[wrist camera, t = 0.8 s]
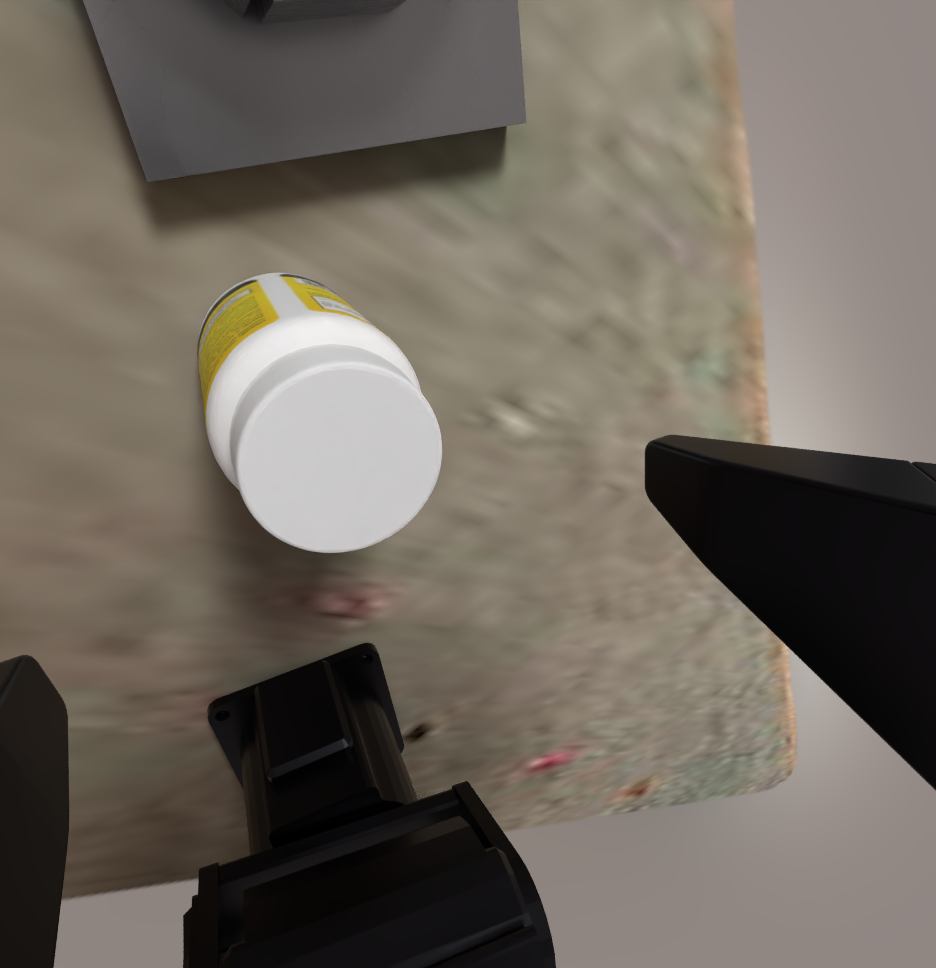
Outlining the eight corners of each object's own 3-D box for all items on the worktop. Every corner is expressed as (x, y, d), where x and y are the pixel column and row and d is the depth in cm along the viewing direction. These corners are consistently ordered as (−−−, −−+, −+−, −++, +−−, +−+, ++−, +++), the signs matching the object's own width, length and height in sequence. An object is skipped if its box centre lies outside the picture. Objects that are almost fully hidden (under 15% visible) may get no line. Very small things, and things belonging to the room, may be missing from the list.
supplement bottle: (219, 440, 19) (242, 599, 12) (176, 282, 17) (173, 366, 10) (371, 410, 21) (468, 537, 14) (350, 261, 18) (453, 322, 11)
